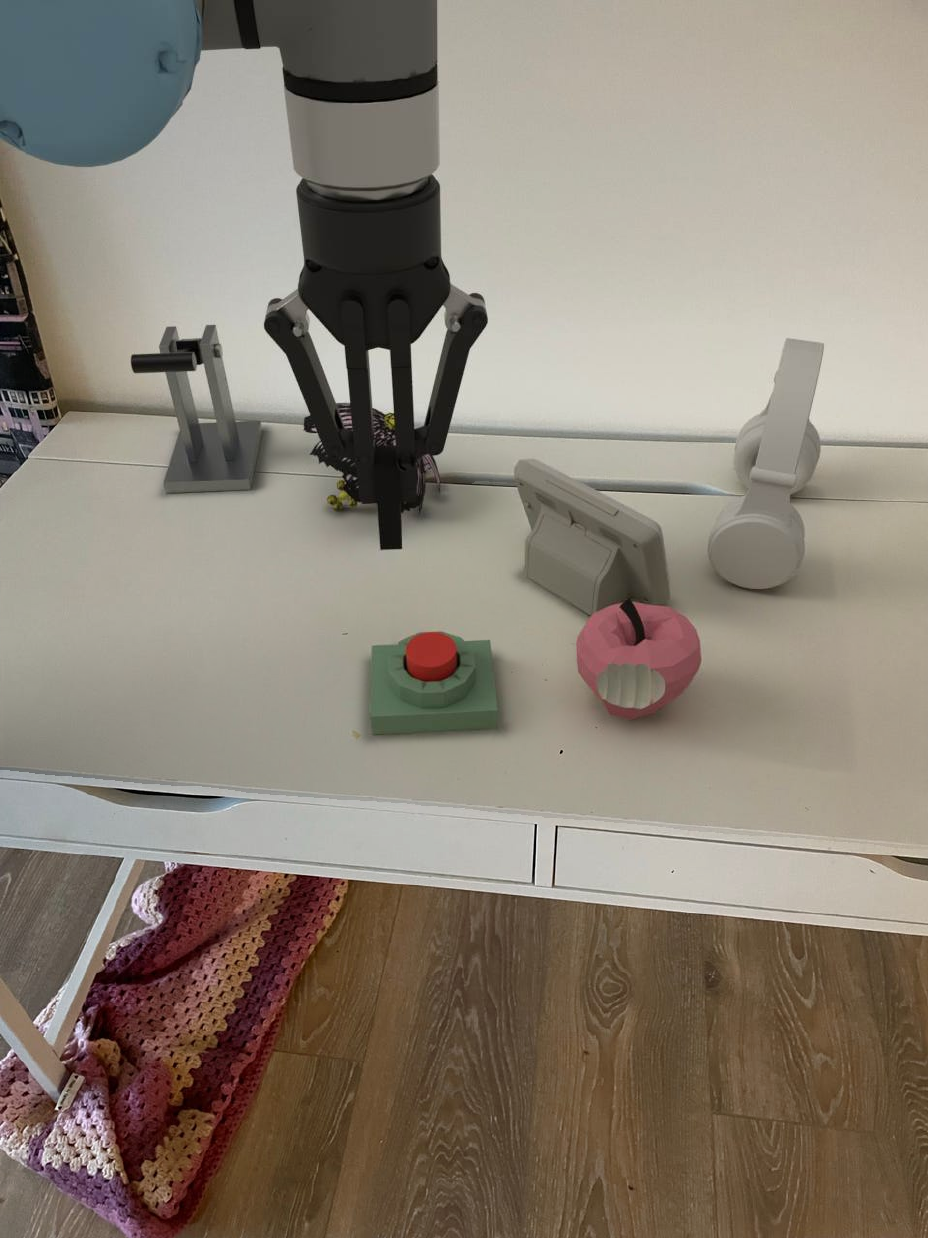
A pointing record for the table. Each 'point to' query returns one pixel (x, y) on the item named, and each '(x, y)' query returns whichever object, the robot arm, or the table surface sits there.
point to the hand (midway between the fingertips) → (391, 537)
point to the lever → (170, 359)
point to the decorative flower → (383, 437)
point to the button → (431, 656)
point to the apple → (637, 657)
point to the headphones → (771, 479)
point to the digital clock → (588, 542)
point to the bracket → (208, 428)
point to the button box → (433, 691)
